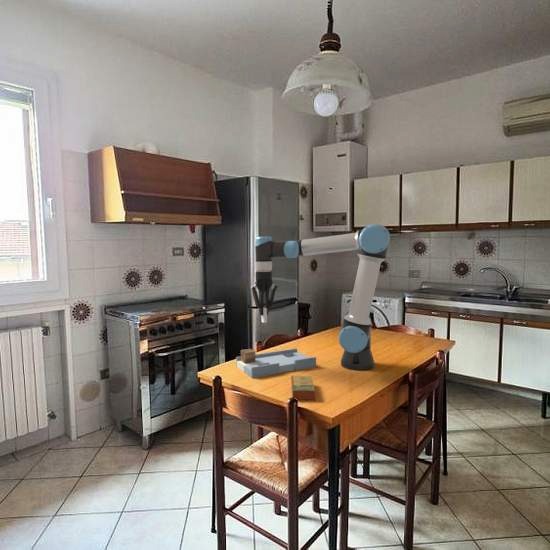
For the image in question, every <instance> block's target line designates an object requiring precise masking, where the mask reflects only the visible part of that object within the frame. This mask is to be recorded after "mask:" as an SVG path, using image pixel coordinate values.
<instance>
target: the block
mask: <svg viewBox="0 0 550 550" xmlns="http://www.w3.org/2000/svg"><path fill="white" fill-rule="evenodd" d="M255 354H256V350H253V349H252V348H248V349H241V350H240V357H241V361H242V362H243V363H245V364H247V363H254V362H255Z"/></svg>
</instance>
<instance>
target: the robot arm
mask: <svg viewBox="0 0 550 550" xmlns="http://www.w3.org/2000/svg"><path fill="white" fill-rule="evenodd" d="M391 239H392V237H391V233H390V231H389V230H388V228H386V227H385V226H384V225H382V224H379V223H378V224H377V223H371V224H369V225H366V226H365V227H364V228H363V229H358V230H357V231H356V232H353V233H345V234H337V235H329V236H322V237H321V236H320V237H315V238H307V239H298V240H297V239H296V240H273V238H272V236H257V237H256V238H255V243H254V248H255V249H254V250H255V251H254V252H255V253H254V254H255V259H254V260H255V283H254V285H252V286H250V288H249V289H250V290H251V292H252V296H253V300H254V304H255V307H257V308H259V315H260V317H261V318H260V319H261V323H264V324H265V323H266V324H267V323H268V315H269V309H270V307H273V304H274V300H275V299H274V298H275V294H276V290H277V288H278V285H276V284H274V283H273V272H272V270H273V259H276V258H277V259H278V258H279V259H294V258H295V259H296V258H298V257H305V256H311V255H321V254H330V253H331V254H332V253H341V252H349V251H357V256H358V258H359V263H358V265H357V266H358V267H357V272H356V277H355V281H354V287H353V291H352V294H351V295H352V296H351V299H350V300H351V302H350V306H349V310H348V314H346V315H344V317H343V321H342V326H341V330H340V332H339V333H338V342H339V345H340V346H341V348H342V349H343V352H342V356H341V358H340V366H341V367H343V368H345V369H348V370H354V371H368V370H372V369H373V368H375V360H374V356H373V353H372V351H371V345H372V344H371V343H372V342H371V341H372V340H371V339H372V338H371V337H372V318H371V316H370V313H371V310H372V304H373V301H374V298H375V297H374V295H375V291H376V287H377V282H378V277H379V275H380V273H379V272H380V268H381V263H383V262H384V261H385V260H386V259H387V254H388V249H389V245H390V244H391V241H392V240H391Z"/></svg>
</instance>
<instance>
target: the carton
mask: <svg viewBox="0 0 550 550" xmlns="http://www.w3.org/2000/svg"><path fill="white" fill-rule="evenodd" d="M290 378H291V396H292V397H291V399H292V398H296V399H297V400H298V401H297V402H302V401H305V402H306V401H307V402H308V401H310V402H311V401H316V390H315V386H314V382H313V378H312V375H291V376H290Z"/></svg>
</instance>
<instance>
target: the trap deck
mask: <svg viewBox="0 0 550 550" xmlns="http://www.w3.org/2000/svg"><path fill="white" fill-rule="evenodd" d="M235 363H236V365H235V366H236V368H237V369H238V370H240V371H242V372H243V373H244V374H246V375H247V376H248V377H250V378H251V379H255V378H261V377H266V376H273V375H277V374H278V373H279V372H281V373H286V372H291V370H292V371H295V370H296V371H300V369H301V370H306V369H305V368H307V369H312V368H311V367H313V368H317V356H311V357H309V356H307V355H305V354H303V353H301V352H299V351H298V348H297V347H296V348H290V349H282V350H276V351H269V352H263V353H257V354H256V353H255V362H254V363H247V364H245V363H243V362H242V361H241V356H236V357H235ZM285 371H286V372H285ZM279 374H280V373H279Z"/></svg>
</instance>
